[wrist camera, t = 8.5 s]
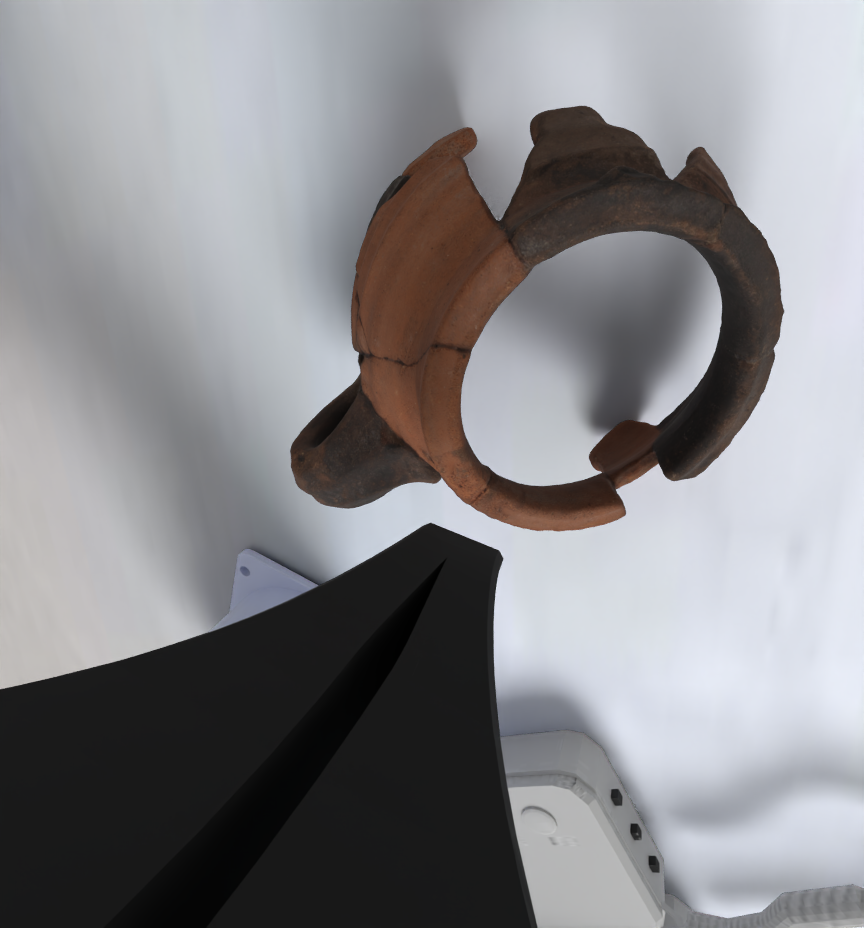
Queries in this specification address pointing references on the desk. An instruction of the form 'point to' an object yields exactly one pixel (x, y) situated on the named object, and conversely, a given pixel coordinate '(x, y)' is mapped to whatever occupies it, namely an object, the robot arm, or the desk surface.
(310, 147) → the desk surface
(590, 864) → the intercom
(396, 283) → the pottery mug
